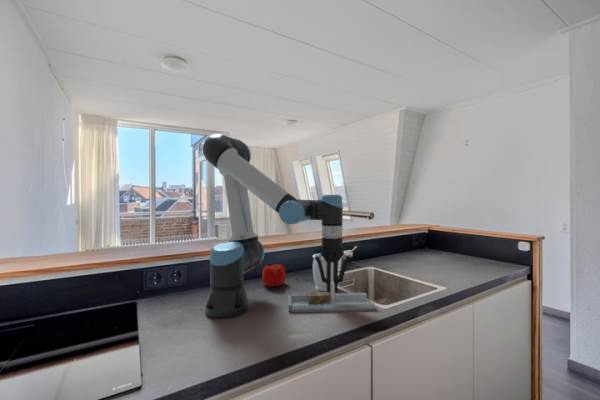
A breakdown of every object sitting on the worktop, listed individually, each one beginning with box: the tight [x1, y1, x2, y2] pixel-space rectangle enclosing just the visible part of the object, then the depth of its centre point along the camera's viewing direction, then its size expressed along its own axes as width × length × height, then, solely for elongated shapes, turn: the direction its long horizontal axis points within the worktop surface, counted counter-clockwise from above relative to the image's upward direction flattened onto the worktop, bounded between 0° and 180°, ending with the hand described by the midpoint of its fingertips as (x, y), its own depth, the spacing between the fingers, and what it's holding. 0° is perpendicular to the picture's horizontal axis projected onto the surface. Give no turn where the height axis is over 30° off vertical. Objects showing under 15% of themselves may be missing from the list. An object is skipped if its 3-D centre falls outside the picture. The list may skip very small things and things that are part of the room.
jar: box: [312, 252, 334, 292], centre depth 120 cm, size 11×10×15 cm
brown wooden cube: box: [318, 291, 331, 304], centre depth 102 cm, size 4×4×4 cm
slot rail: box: [287, 292, 376, 313], centre depth 102 cm, size 30×11×3 cm, turn 93°
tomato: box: [261, 263, 287, 288], centre depth 127 cm, size 11×12×9 cm
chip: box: [307, 291, 320, 305], centre depth 102 cm, size 4×4×4 cm
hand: (331, 300), depth 102 cm, fingers closed
